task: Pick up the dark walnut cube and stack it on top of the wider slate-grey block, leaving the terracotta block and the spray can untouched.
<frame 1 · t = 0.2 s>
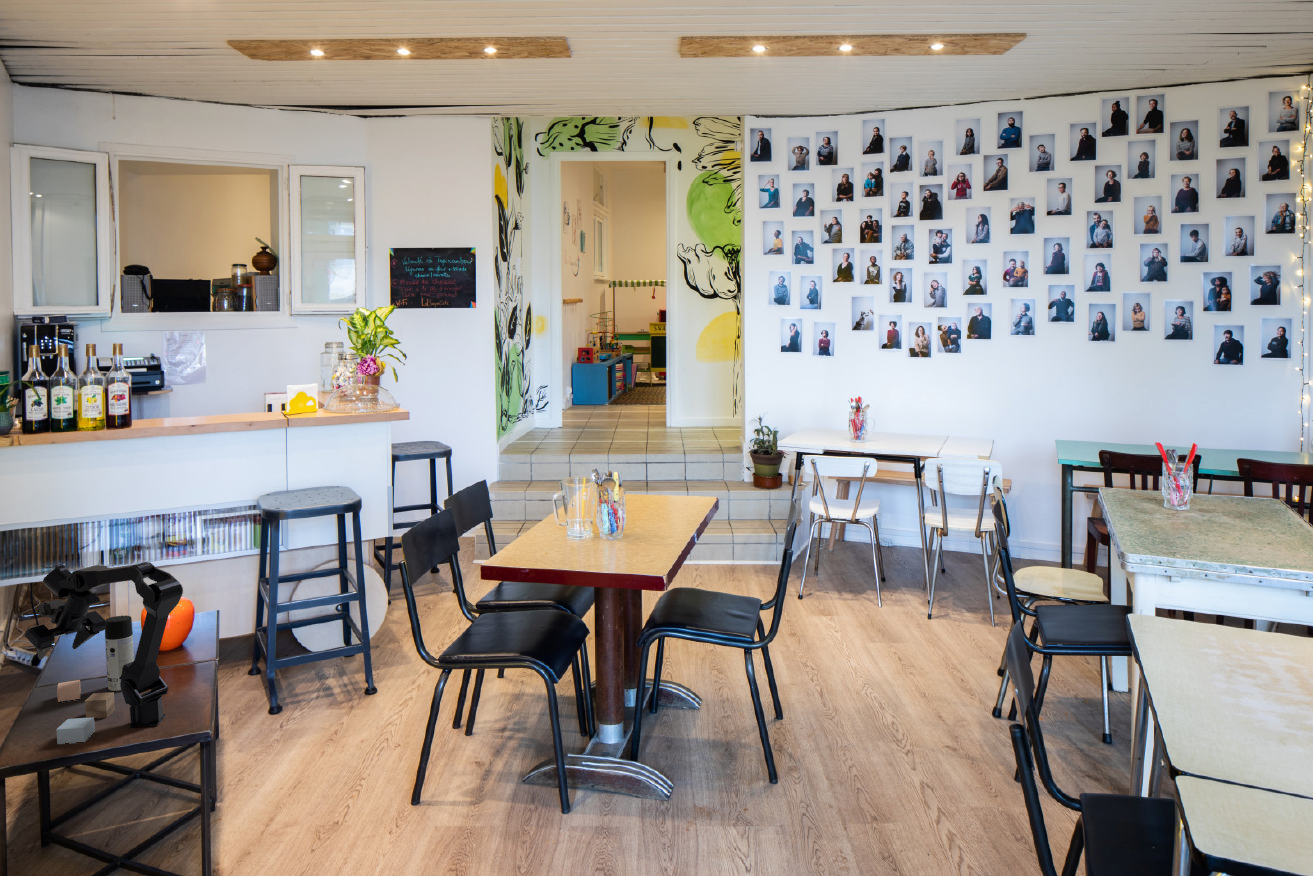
hand: (57, 653, 241), 15 cm above the table, tool tilted 30°, fingers open, 9 cm apart
slate block: (76, 738, 224), on the table
walnut cube: (100, 714, 238), on the table
spray can: (122, 687, 256), on the table
terracotta block: (69, 698, 248), on the table
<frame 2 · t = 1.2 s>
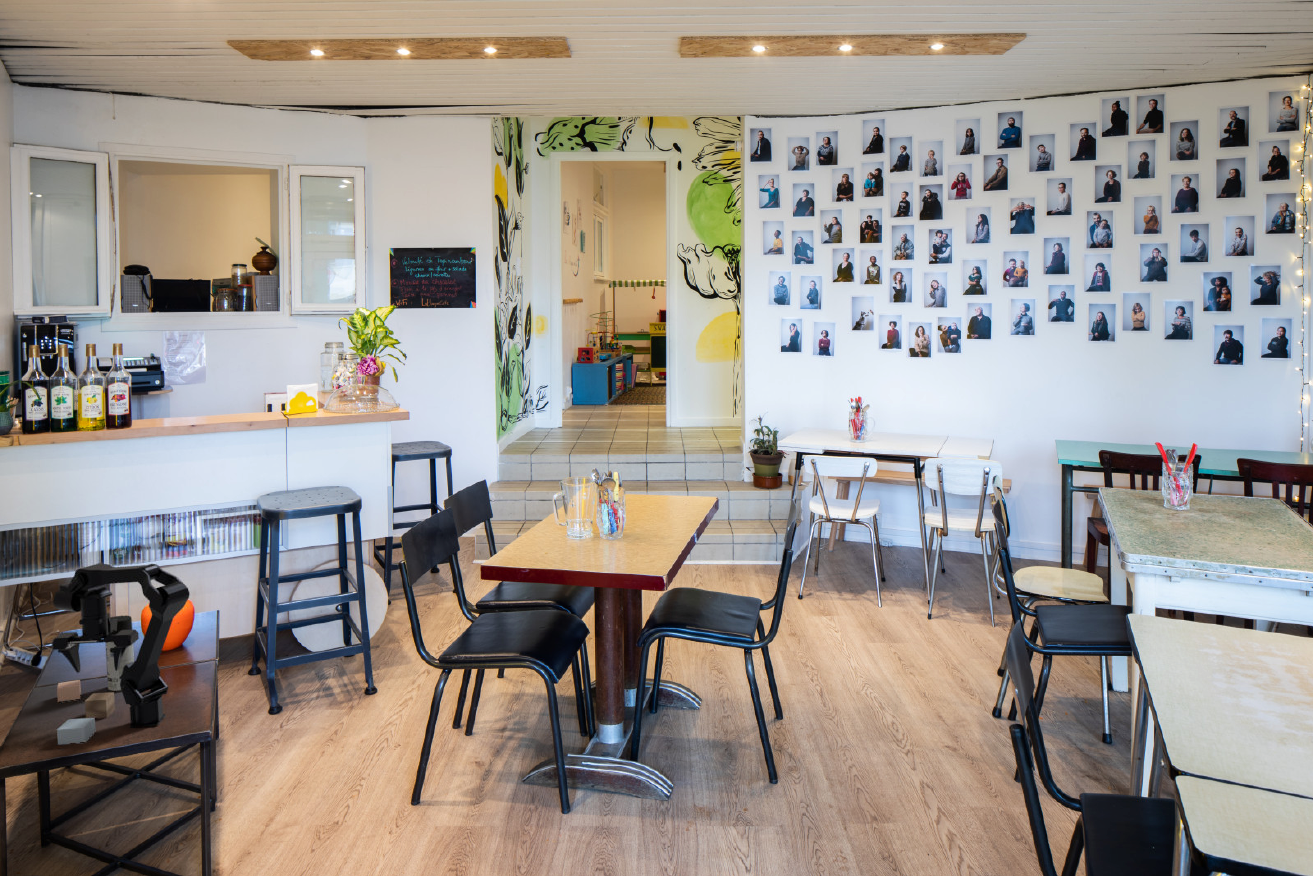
hand: (97, 671, 236), 12 cm above the table, tool pointing down, fingers open, 9 cm apart
nothing on the table moved.
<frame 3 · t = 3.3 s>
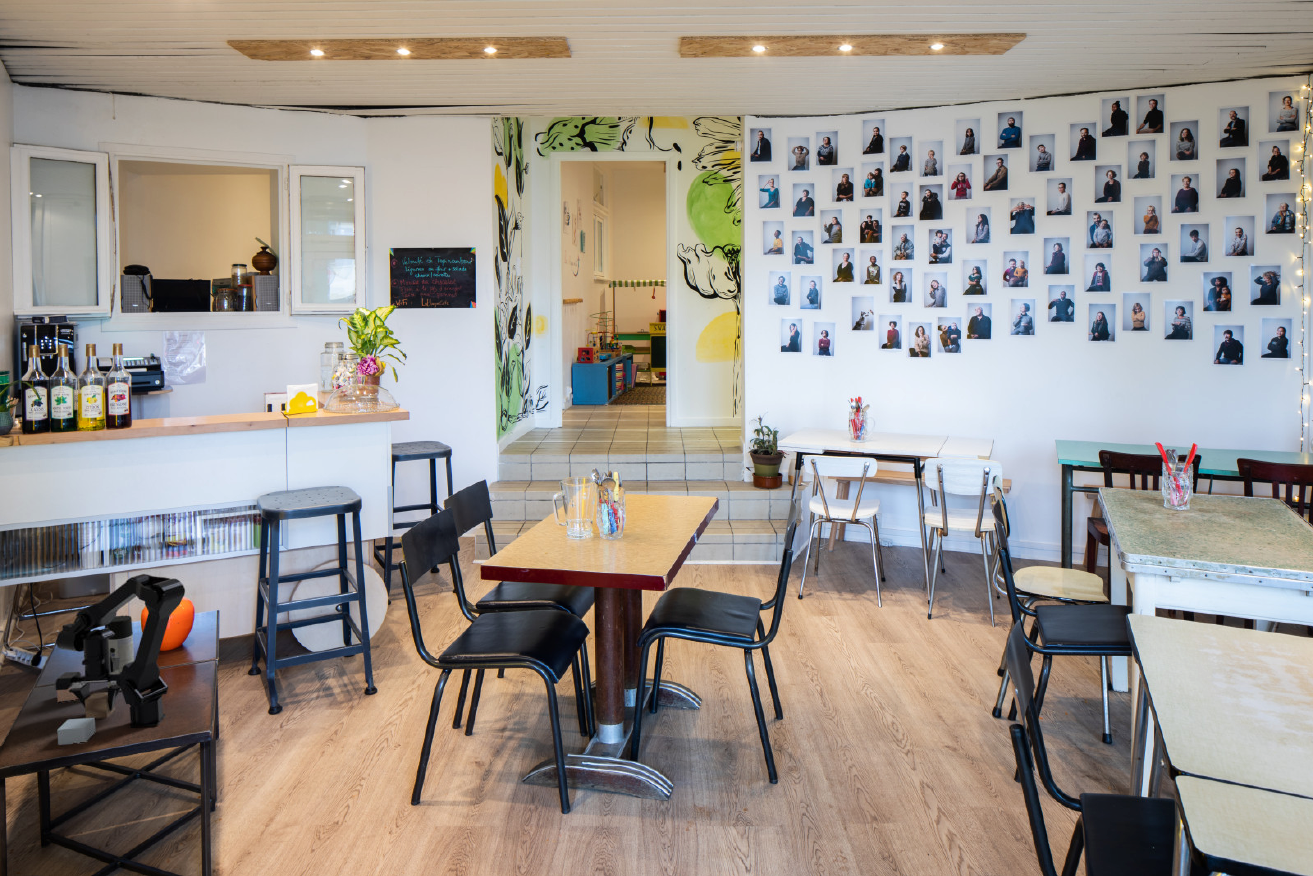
hand: (100, 710, 238), 1 cm above the table, tool pointing down, fingers closed on walnut cube, 5 cm apart
walnut cube: (100, 714, 238), on the table, touching gripper
everything else where it was.
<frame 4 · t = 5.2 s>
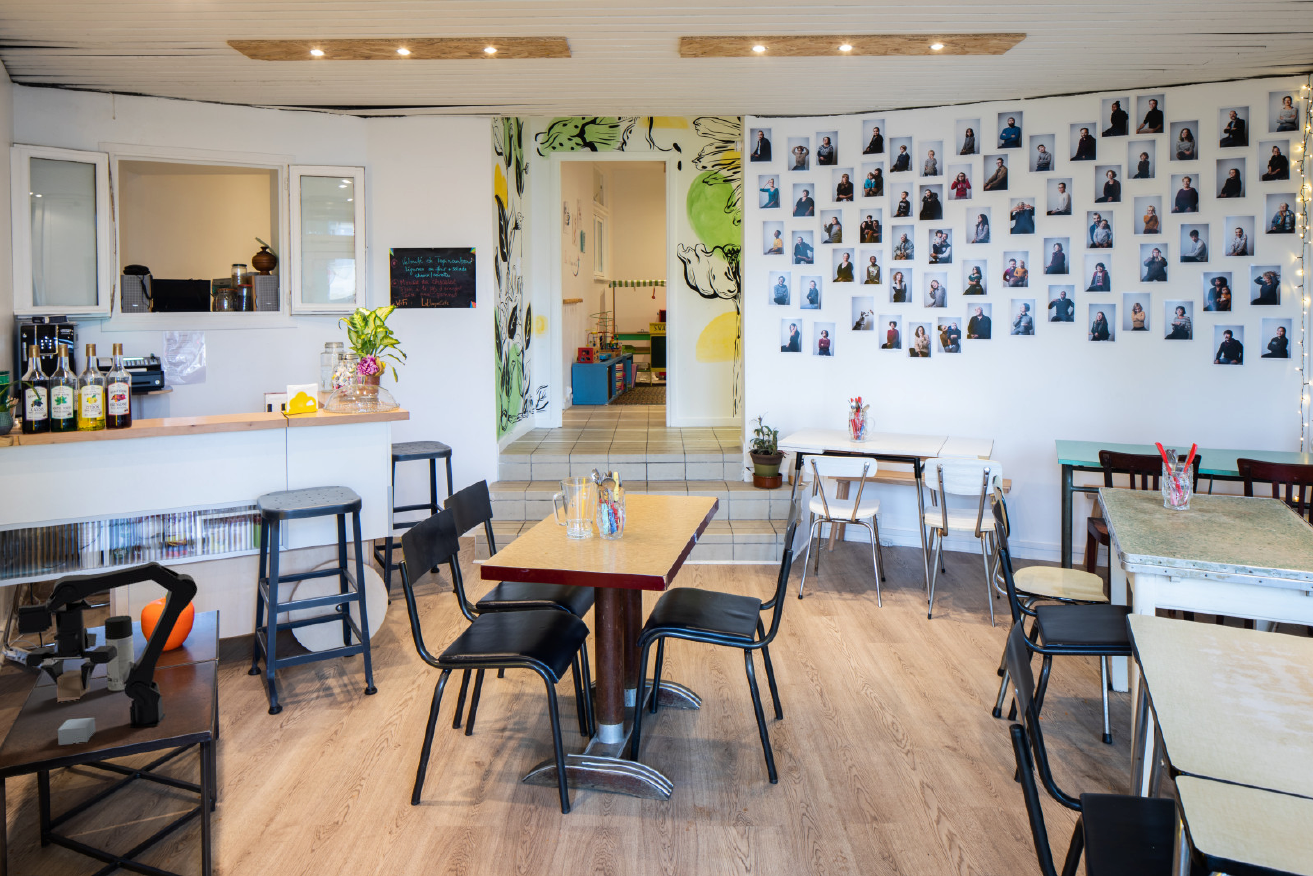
hand: (74, 689, 224), 12 cm above the table, tool pointing down, fingers closed on walnut cube, 5 cm apart
walnut cube: (74, 693, 224), point 11 cm above the table, touching gripper
everything else where it was.
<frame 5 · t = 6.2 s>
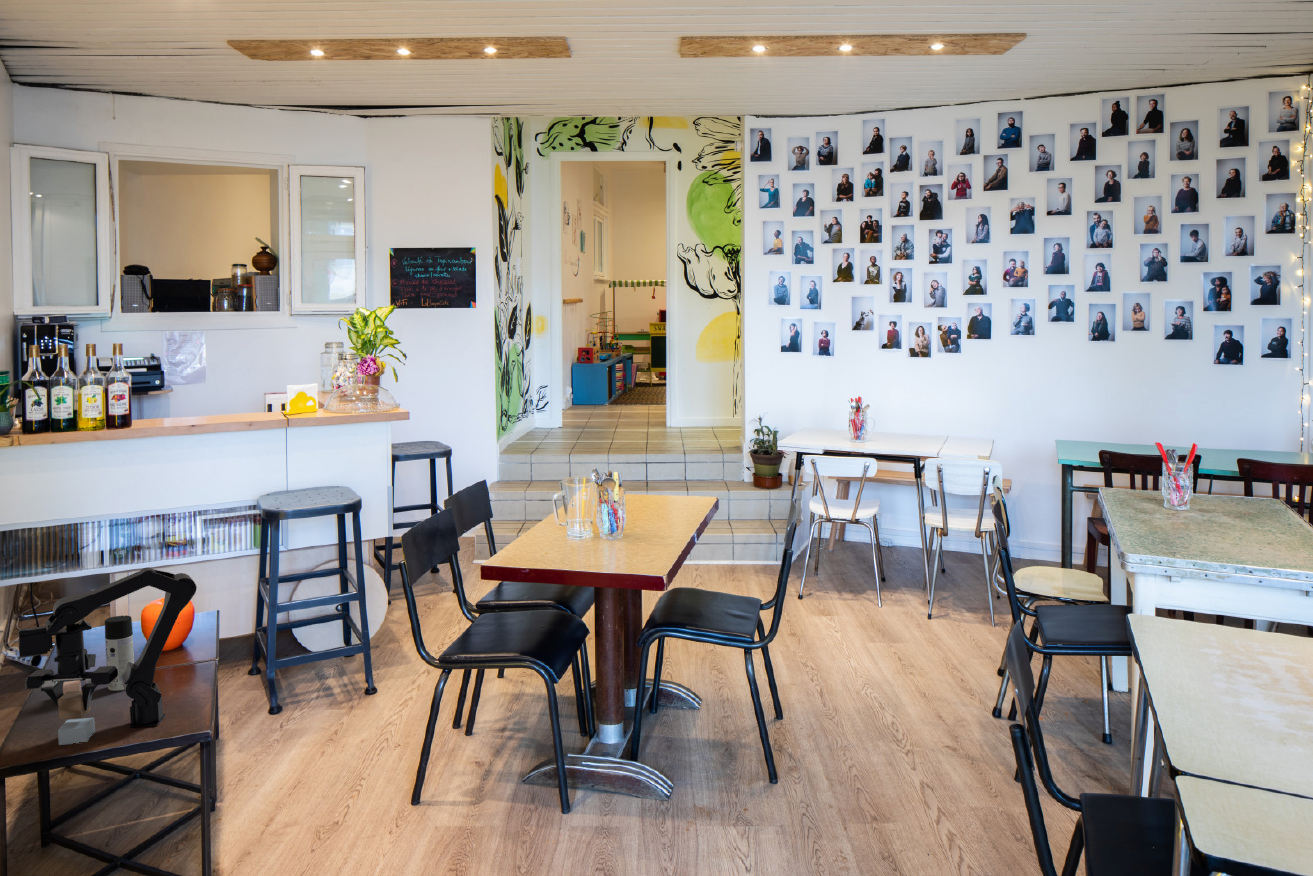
hand: (74, 710, 223), 7 cm above the table, tool pointing down, fingers closed on walnut cube, 5 cm apart
walnut cube: (75, 714, 223), point 6 cm above the table, touching gripper
everything else where it was.
when the fingers open (6 cm above the table, at t = 7.1 s): walnut cube drops 2 cm, resting on slate block.
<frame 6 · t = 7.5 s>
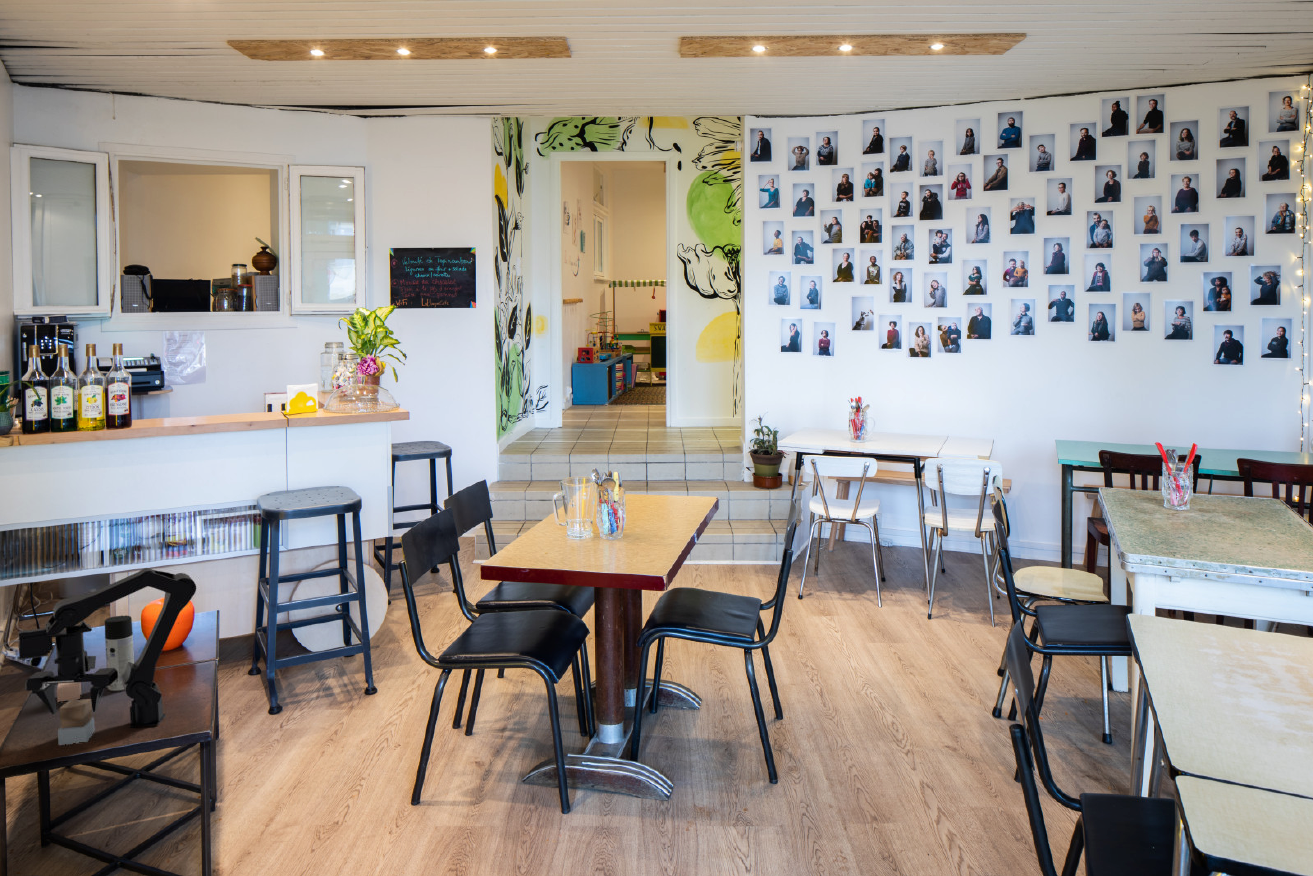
hand: (74, 712, 223), 6 cm above the table, tool pointing down, fingers open, 9 cm apart
slate block: (77, 739, 224), on the table, touching walnut cube
walnut cube: (76, 723, 224), point 4 cm above the table, touching slate block
everything else where it was.
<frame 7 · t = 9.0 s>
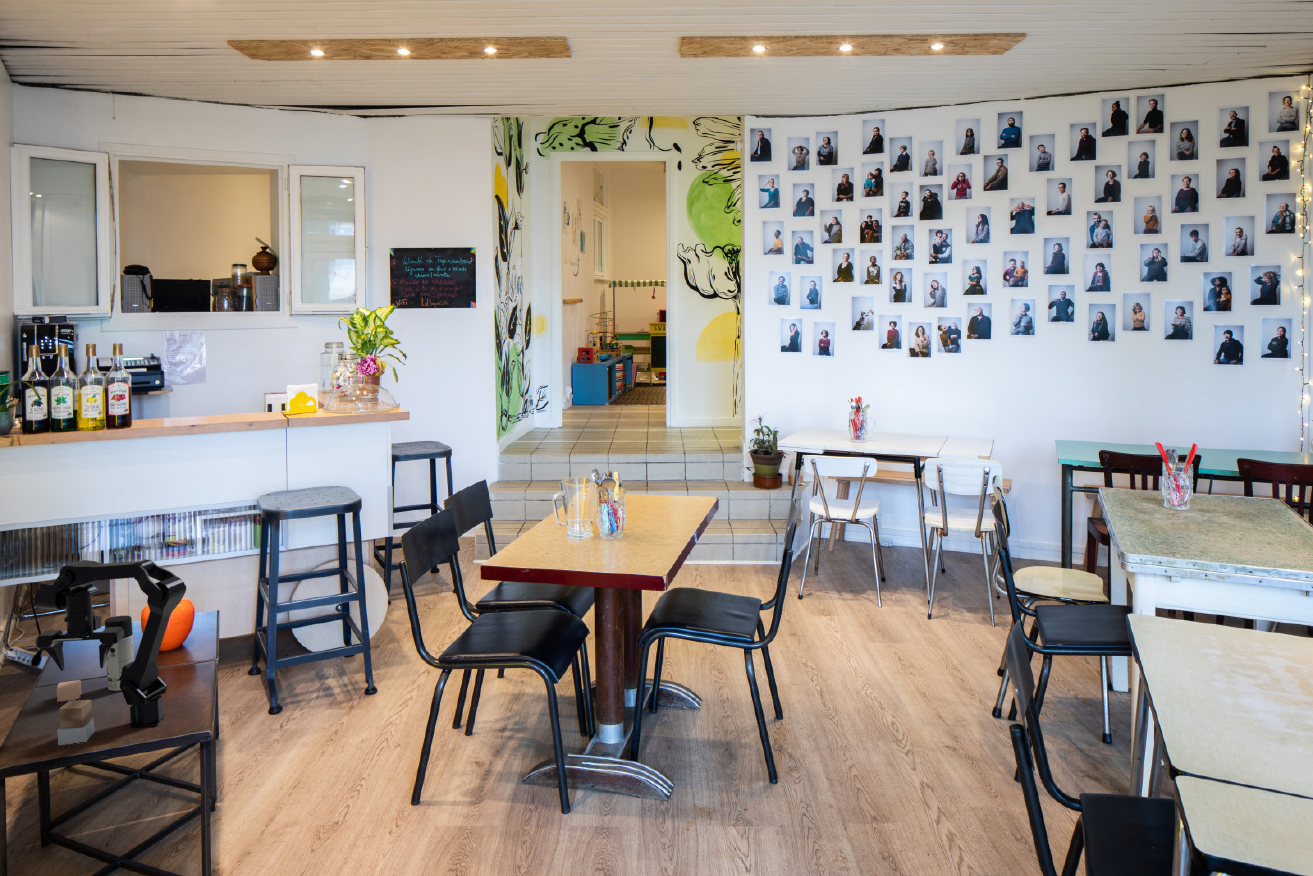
hand: (82, 669, 234), 13 cm above the table, tool pointing down, fingers open, 9 cm apart
nothing on the table moved.
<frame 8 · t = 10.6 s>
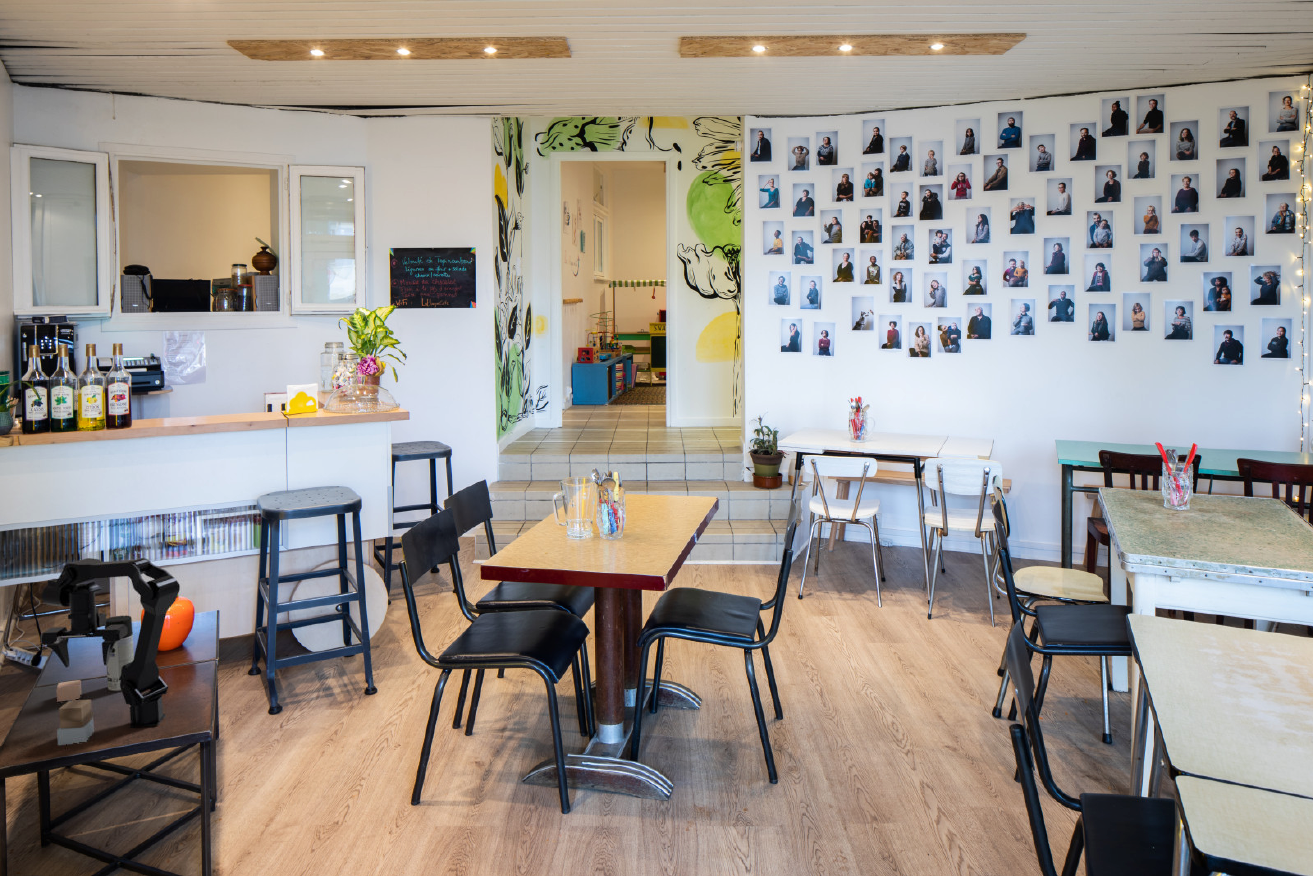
hand: (86, 665, 237), 13 cm above the table, tool pointing down, fingers open, 9 cm apart
slate block: (76, 739, 224), on the table
walnut cube: (76, 723, 223), point 4 cm above the table
everything else where it was.
at the end: walnut cube 0.3 cm off-centre on the slate block, point 4.0 cm above the slate block's base; walnut cube tilted 0°; the gripper is holding nothing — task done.
